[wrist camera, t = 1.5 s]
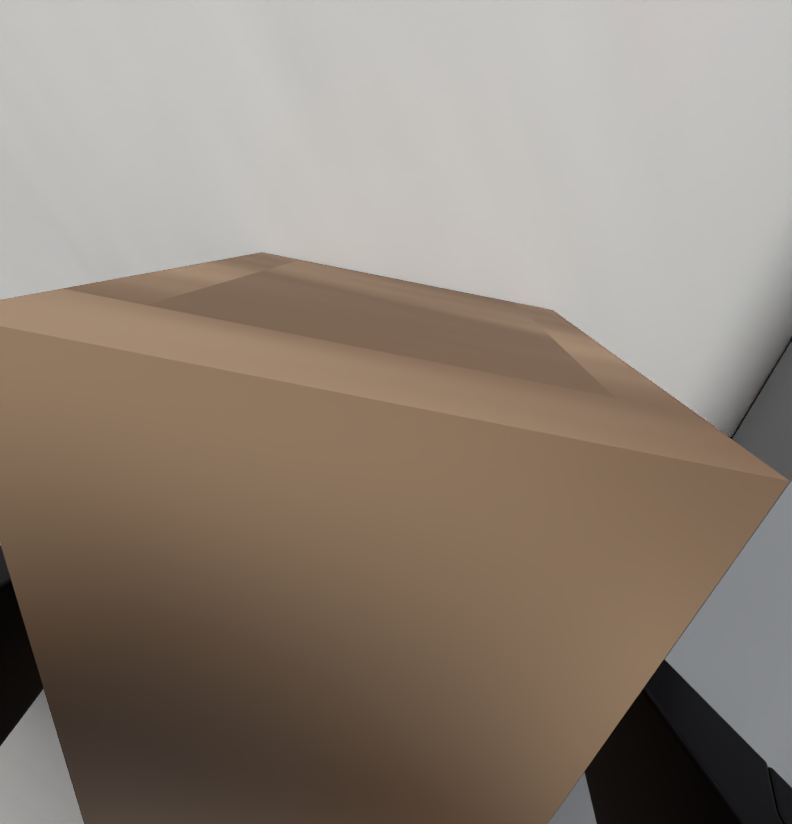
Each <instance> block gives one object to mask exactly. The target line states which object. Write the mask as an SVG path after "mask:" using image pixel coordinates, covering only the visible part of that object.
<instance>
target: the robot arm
mask: <svg viewBox="0 0 792 824" xmlns="http://www.w3.org/2000/svg"><path fill="white" fill-rule="evenodd" d="M43 689H44V688H43V684H42V681H41V678H40V674H39V671H38V668H37V664H36V661H35V658H34V654H33V651H32V648H31V644H30V641H29V638H28V634H27V631H26V628H25V624H24V621H23V618H22V614H21V611H20V608H19V604H18V601H17V598H16V594H15V591H14V588H13V584H12V581H11V578H10V574H9V571H8V568H7V564H6V561H5V558H4V554H3V551H2V548H1V545H0V746H1V745H2V743H3V742H4V741H5V739H6V738H7V737H8V735H9V734H10V733H11V731H12V730H13V729H14V727H15V726H16V725H17V723H18V722H19V721H20V719H21V718H22V717H23V715H24V714H25V713H26V711H27V710H28V709H29V707H30V706H31V705H32V703H33V702H34V701H35V699H36V698H37V697H38V695H39V694H40V693H41V691H42V690H43ZM584 773H585V777H586V781H587V785H588V789H589V794H590V798H591V802H592V806H593V811H594V815H595V819H596V823H597V824H792V787H791V786H790V785H789V784H788V783H787V782H786V781H785V780H784V779H783V778H782V777H781V776H780V775H779V774H778V773H777V772H776V771H775V770H774V769H773V768H771V767H768V765H767V763H766V761H765V760H764V759H763V758H762V757H761V756H760V755H759V754H758V753H757V752H756V751H755V750H754V749H753V748H752V747H751V746H750V745H749V744H748V743H747V742H746V741H745V740H744V739H743V738H742V737H741V736H740V735H739V734H738V733H737V732H736V731H735V730H734V729H733V728H732V727H731V726H730V725H729V724H728V723H727V722H726V721H725V720H724V719H723V718H722V717H721V716H720V715H719V714H718V713H717V712H716V711H715V710H714V709H713V708H712V707H711V706H710V705H709V704H708V703H707V702H706V701H705V700H704V699H703V698H702V697H701V696H700V695H699V693H698V692H697V691H696V690H695V689H694V688H693V687H692V686H691V685H690V684H689V683H688V682H687V681H686V680H685V679H684V678H683V677H682V676H681V675H680V674H679V673H678V672H677V671H676V670H675V669H674V668H673V667H672V666H671V665H670V664H669V663H668V662H667V661H666V660H665V659H664V660H663V661H662V662H661V664H660V665H659V667H658V668H657V670H656V671H655V672H654V674H653V675H652V677H651V678H650V679H649V681H648V682H647V684H646V685H645V686H644V688H643V689H642V691H641V692H640V694H639V695H638V696H637V698H636V699H635V701H634V702H633V703H632V705H631V706H630V708H629V709H628V710H627V712H626V713H625V715H624V716H623V718H622V719H621V720H620V722H619V723H618V725H617V726H616V727H615V729H614V730H613V732H612V733H611V734H610V736H609V737H608V739H607V740H606V742H605V743H604V744H603V746H602V747H601V749H600V750H599V751H598V753H597V754H596V756H595V757H594V758H593V760H592V761H591V763H590V764H589V766H588V767H587V768H586V770H585V771H584Z"/></svg>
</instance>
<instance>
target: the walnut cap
mask: <svg viewBox="0 0 792 824" xmlns="http://www.w3.org/2000/svg"><path fill="white" fill-rule="evenodd" d="M789 482H790V481H789V480H788V479H786V478H785V477H783V476H782V475H781V474H779V473H778V472H777V471H775V470H774V469H772V468H771V467H770V466H768V465H767V464H765V463H764V462H763V461H761V460H760V459H759V458H757V457H756V456H754V455H753V454H752V453H750V452H749V451H747V450H746V449H745V448H743V447H742V446H740V445H739V444H738V443H736V442H735V441H734V440H732V439H731V438H729V437H728V436H727V435H725V434H724V433H722V432H721V431H720V430H718V429H717V428H715V427H714V426H713V425H711V424H710V423H709V422H707V421H706V420H704V419H703V418H702V417H700V416H699V415H697V414H696V413H695V412H693V411H692V410H690V409H689V408H688V407H686V406H685V405H684V404H682V403H681V402H679V401H678V400H677V399H675V398H674V397H672V396H671V395H670V394H668V393H667V392H666V391H664V390H663V389H661V388H660V387H659V386H657V385H656V384H654V383H653V382H652V381H650V380H649V379H647V378H646V377H645V376H643V375H642V374H641V373H639V372H638V371H636V370H635V369H634V368H632V367H631V366H629V365H628V364H627V363H625V362H624V361H622V360H621V359H620V358H618V357H617V356H616V355H614V354H613V353H611V352H610V351H609V350H607V349H606V348H604V347H603V346H602V345H600V344H599V343H597V342H596V341H595V340H593V339H592V338H591V337H589V336H588V335H586V334H585V333H584V332H582V331H581V330H579V329H578V328H577V327H575V326H574V325H573V324H571V323H570V322H568V321H567V320H566V319H564V318H563V317H561V316H560V315H559V314H557V313H556V312H554V311H553V310H549V309H544V308H539V307H534V306H529V305H524V304H519V303H514V302H509V301H504V300H499V299H494V298H488V297H483V296H478V295H473V294H468V293H463V292H458V291H453V290H448V289H443V288H438V287H433V286H428V285H423V284H418V283H413V282H408V281H403V280H398V279H393V278H388V277H383V276H378V275H373V274H368V273H363V272H358V271H353V270H347V269H342V268H337V267H332V266H327V265H322V264H317V263H312V262H307V261H302V260H297V259H292V258H287V257H282V256H277V255H272V254H267V253H256V254H251V255H245V256H240V257H234V258H229V259H223V260H218V261H212V262H207V263H201V264H196V265H190V266H185V267H179V268H174V269H168V270H163V271H157V272H152V273H146V274H141V275H135V276H130V277H124V278H119V279H113V280H108V281H102V282H97V283H91V284H85V285H80V286H74V287H69V288H63V289H58V290H52V291H47V292H41V293H36V294H30V295H25V296H19V297H14V298H8V299H3V300H0V544H1V548H2V551H3V554H4V558H5V561H6V564H7V568H8V571H9V574H10V578H11V581H12V584H13V588H14V591H15V594H16V598H17V601H18V604H19V608H20V611H21V614H22V618H23V621H24V624H25V628H26V631H27V634H28V638H29V641H30V644H31V648H32V651H33V654H34V658H35V661H36V664H37V668H38V671H39V674H40V678H41V681H42V684H43V688H44V691H45V694H46V698H47V701H48V704H49V708H50V711H51V714H52V718H53V721H54V724H55V728H56V731H57V734H58V738H59V741H60V744H61V748H62V751H63V754H64V758H65V761H66V764H67V768H68V771H69V774H70V778H71V781H72V784H73V788H74V791H75V794H76V798H77V801H78V804H79V808H80V811H81V815H82V818H83V821H84V824H547V823H548V822H549V821H550V819H551V818H552V816H553V815H554V814H555V812H556V811H557V809H558V808H559V807H560V805H561V804H562V802H563V801H564V799H565V798H566V797H567V795H568V794H569V792H570V791H571V790H572V788H573V787H574V785H575V784H576V783H577V781H578V780H579V778H580V777H581V775H582V774H583V773H584V771H585V770H586V768H587V767H588V766H589V764H590V763H591V761H592V760H593V758H594V757H595V756H596V754H597V753H598V751H599V750H600V749H601V747H602V746H603V744H604V743H605V742H606V740H607V739H608V737H609V736H610V734H611V733H612V732H613V730H614V729H615V727H616V726H617V725H618V723H619V722H620V720H621V719H622V718H623V716H624V715H625V713H626V712H627V710H628V709H629V708H630V706H631V705H632V703H633V702H634V701H635V699H636V698H637V696H638V695H639V694H640V692H641V691H642V689H643V688H644V686H645V685H646V684H647V682H648V681H649V679H650V678H651V677H652V675H653V674H654V672H655V671H656V670H657V668H658V667H659V665H660V664H661V662H662V661H663V660H664V658H665V657H666V655H667V654H668V653H669V651H670V650H671V648H672V647H673V645H674V644H675V643H676V641H677V640H678V638H679V637H680V636H681V634H682V633H683V631H684V630H685V629H686V627H687V626H688V624H689V623H690V621H691V620H692V619H693V617H694V616H695V614H696V613H697V612H698V610H699V609H700V607H701V606H702V605H703V603H704V602H705V600H706V599H707V597H708V596H709V595H710V593H711V592H712V590H713V589H714V588H715V586H716V585H717V583H718V582H719V581H720V579H721V578H722V576H723V575H724V573H725V572H726V571H727V569H728V568H729V566H730V565H731V564H732V562H733V561H734V559H735V558H736V557H737V555H738V554H739V552H740V551H741V549H742V548H743V547H744V545H745V544H746V542H747V541H748V540H749V538H750V537H751V535H752V534H753V533H754V531H755V530H756V528H757V527H758V525H759V524H760V523H761V521H762V520H763V518H764V517H765V516H766V514H767V513H768V511H769V510H770V508H771V507H772V506H773V504H774V503H775V501H776V500H777V499H778V497H779V496H780V494H781V493H782V492H783V490H784V489H785V487H786V486H787V484H788V483H789Z"/></svg>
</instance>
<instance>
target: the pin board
mask: <svg viewBox="0 0 792 824" xmlns="http://www.w3.org/2000/svg"><path fill="white" fill-rule="evenodd" d="M732 440H734V441H735V442H736V443H738V444H739V445H740V446H742V447H743V448H745V449H746V450H747V451H749V452H750V453H752V454H753V455H754V456H756V457H757V458H759V459H760V460H761V461H763V462H764V463H765V464H767V465H768V466H770V467H771V468H772V469H774V470H775V471H777V472H778V473H779V474H781V475H782V476H783V477H785V478H786V479H788V480H789V481H790V482H789V483H788V484H787V486H786V487H785V489H784V490H783V492H782V493H781V494H780V496H779V497H778V499H777V500H776V501H775V503H774V504H773V506H772V507H771V508H770V510H769V511H768V513H767V514H766V516H765V517H764V518H763V520H762V521H761V523H760V524H759V525H758V527H757V528H756V530H755V531H754V533H753V534H752V535H751V537H750V538H749V540H748V541H747V542H746V544H745V545H744V547H743V548H742V549H741V551H740V552H739V554H738V555H737V557H736V558H735V559H734V561H733V562H732V564H731V565H730V566H729V568H728V569H727V571H726V572H725V573H724V575H723V576H722V578H721V579H720V581H719V582H718V583H717V585H716V586H715V588H714V589H713V590H712V592H711V593H710V595H709V596H708V597H707V599H706V600H705V602H704V603H703V605H702V606H701V607H700V609H699V610H698V612H697V613H696V614H695V616H694V617H693V619H692V620H691V621H690V623H689V624H688V626H687V627H686V629H685V630H684V631H683V633H682V634H681V636H680V637H679V638H678V640H677V641H676V643H675V644H674V645H673V647H672V648H671V650H670V651H669V653H668V654H667V655H666V657H665V658H664V659H665V660H666V661H667V662H668V663H669V664H670V665H671V666H672V667H673V668H674V669H675V670H676V671H677V672H678V673H679V674H680V675H681V676H682V677H683V678H684V679H685V680H686V681H687V682H688V683H689V684H690V685H691V686H692V687H693V688H694V689H695V690H696V691H697V692H698V693H699V695H700V696H701V697H702V698H703V699H704V700H705V701H706V702H707V703H708V704H709V705H710V706H711V707H712V708H713V709H714V710H715V711H716V712H717V713H718V714H719V715H720V716H721V717H722V718H723V719H724V720H725V721H726V722H727V723H728V724H729V725H730V726H731V727H732V728H733V729H734V730H735V731H736V732H737V733H738V734H739V735H740V736H741V737H742V738H743V739H744V740H745V741H746V742H747V743H748V744H749V745H750V746H751V747H752V748H753V749H754V750H755V751H756V752H757V753H758V754H759V755H760V756H761V757H762V758H763V759H764V760H765V761H766V763H767V765H768V767H771V768H773V769H774V770H775V771H776V772H777V773H778V774H779V775H780V776H781V777H782V778H783V779H784V780H785V781H786V782H787V783H788V784H789V785H790V786H791V787H792V341H791V343H790V344H789V346H788V348H787V349H786V351H785V353H784V354H783V356H782V357H781V359H780V361H779V362H778V364H777V366H776V367H775V369H774V371H773V372H772V374H771V376H770V377H769V379H768V381H767V382H766V384H765V386H764V387H763V389H762V391H761V392H760V394H759V396H758V397H757V399H756V400H755V402H754V404H753V405H752V407H751V409H750V410H749V412H748V414H747V415H746V417H745V419H744V420H743V422H742V424H741V425H740V427H739V429H738V430H737V432H736V434H735V435H734V437H733V439H732ZM547 824H597V823H596V819H595V815H594V811H593V806H592V802H591V798H590V794H589V789H588V785H587V781H586V777H585V773H583V774H582V775H581V777H580V778H579V780H578V781H577V783H576V784H575V785H574V787H573V788H572V790H571V791H570V792H569V794H568V795H567V797H566V798H565V799H564V801H563V802H562V804H561V805H560V807H559V808H558V809H557V811H556V812H555V814H554V815H553V816H552V818H551V819H550V821H549V822H548V823H547Z"/></svg>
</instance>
